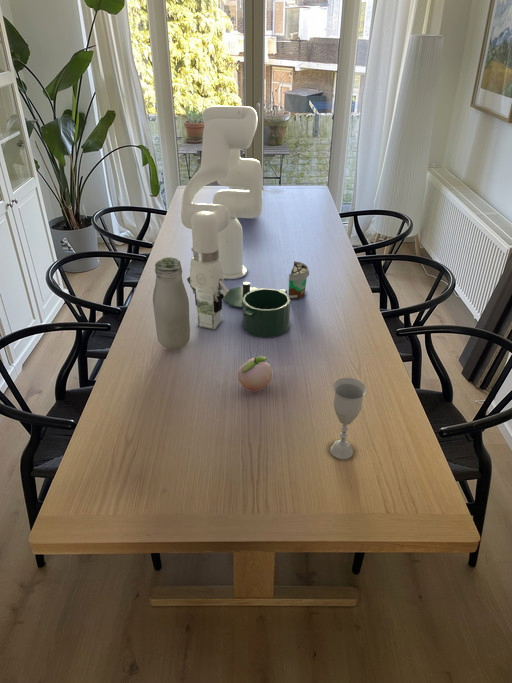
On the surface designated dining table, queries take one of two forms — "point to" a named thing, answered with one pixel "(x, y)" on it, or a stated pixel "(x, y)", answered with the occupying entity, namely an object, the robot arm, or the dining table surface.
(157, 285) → the glass bottle
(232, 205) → the robot arm
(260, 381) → the decorative fruit
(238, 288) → the lid
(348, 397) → the chalice
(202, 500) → the dining table surface
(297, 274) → the food container
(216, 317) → the syrup box
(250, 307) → the pot
